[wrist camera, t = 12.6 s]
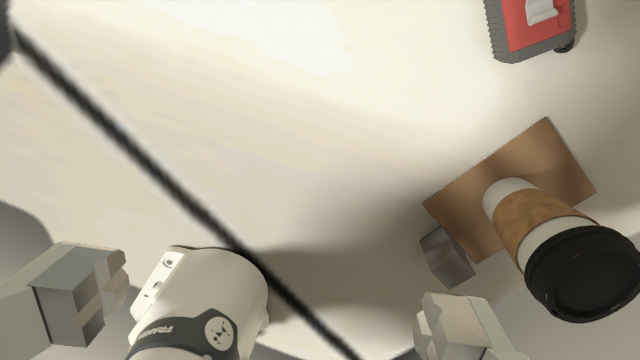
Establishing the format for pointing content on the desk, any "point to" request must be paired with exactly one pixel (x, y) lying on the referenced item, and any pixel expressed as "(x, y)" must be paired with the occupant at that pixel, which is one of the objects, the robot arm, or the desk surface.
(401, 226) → the desk surface
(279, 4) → the desk surface
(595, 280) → the coffee cup
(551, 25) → the walkie-talkie
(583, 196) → the walnut strip
